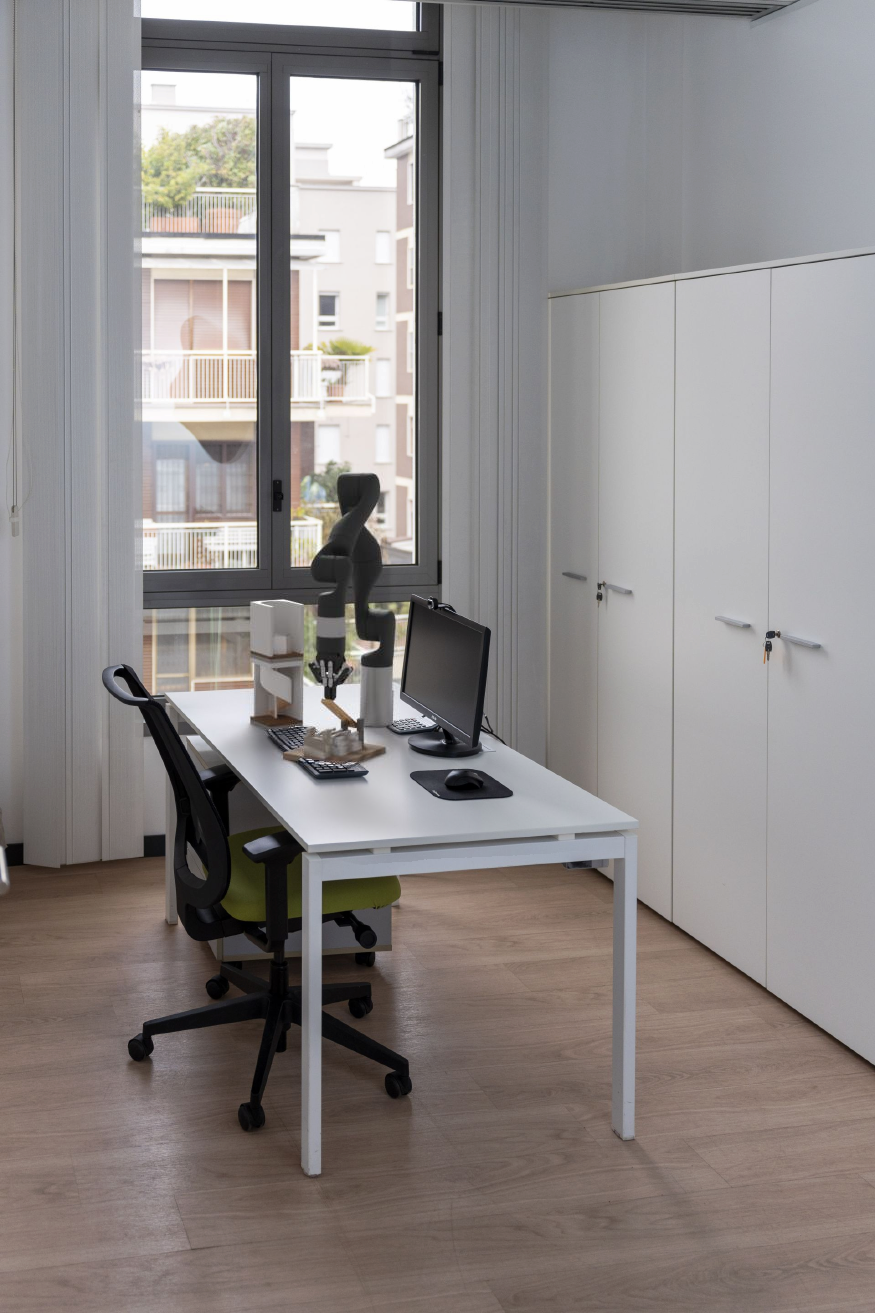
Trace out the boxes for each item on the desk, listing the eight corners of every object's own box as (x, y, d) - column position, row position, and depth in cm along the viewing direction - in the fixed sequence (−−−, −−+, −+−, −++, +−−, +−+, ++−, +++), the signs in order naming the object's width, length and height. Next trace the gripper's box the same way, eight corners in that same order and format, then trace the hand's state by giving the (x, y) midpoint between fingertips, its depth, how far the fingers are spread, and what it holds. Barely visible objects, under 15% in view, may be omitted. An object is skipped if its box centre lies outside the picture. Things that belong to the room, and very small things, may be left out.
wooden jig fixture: (329, 742, 358) (329, 711, 356) (385, 752, 349) (386, 720, 348) (282, 758, 340) (283, 725, 338) (341, 769, 331) (341, 735, 330)
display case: (250, 723, 378) (250, 601, 372) (282, 719, 384) (283, 599, 378) (269, 731, 369) (270, 606, 363) (302, 727, 375) (303, 604, 369)
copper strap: (348, 727, 351) (350, 722, 352) (357, 729, 350) (359, 723, 350) (320, 703, 338) (322, 697, 339) (329, 704, 337) (332, 698, 338)
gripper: (360, 634, 337) (359, 701, 340) (318, 629, 343) (317, 695, 346) (344, 638, 330) (343, 706, 333) (301, 633, 337) (300, 699, 340)
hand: (330, 700), depth 340 cm, fingers closed
